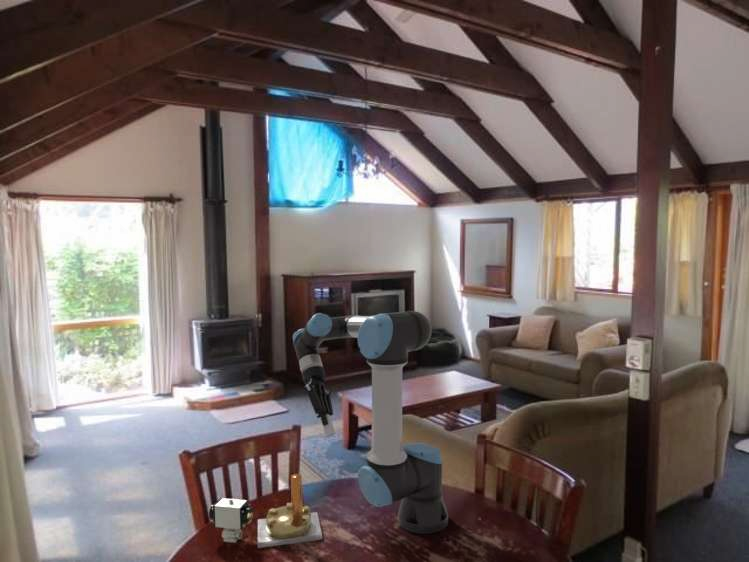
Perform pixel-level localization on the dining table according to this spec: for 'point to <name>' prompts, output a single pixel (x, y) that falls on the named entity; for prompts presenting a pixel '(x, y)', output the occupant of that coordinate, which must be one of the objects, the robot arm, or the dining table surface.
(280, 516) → the brass lugged disc
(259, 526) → the flange plate
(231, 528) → the pneumatic valve
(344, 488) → the dining table surface
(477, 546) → the dining table surface
